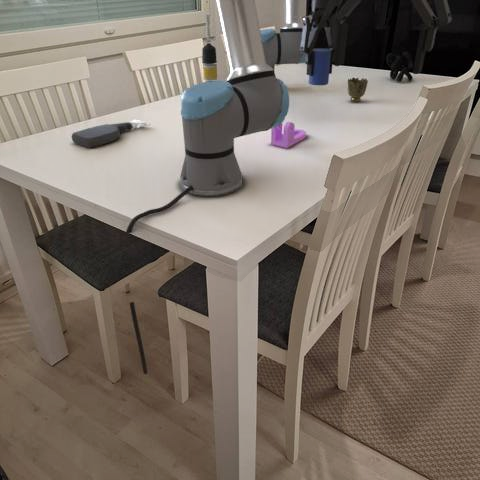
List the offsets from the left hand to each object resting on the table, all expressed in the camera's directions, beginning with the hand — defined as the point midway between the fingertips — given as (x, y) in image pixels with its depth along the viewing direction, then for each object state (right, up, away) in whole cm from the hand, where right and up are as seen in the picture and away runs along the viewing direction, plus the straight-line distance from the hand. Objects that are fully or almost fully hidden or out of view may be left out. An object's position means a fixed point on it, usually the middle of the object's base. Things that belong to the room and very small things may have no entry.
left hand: (376, 68), depth 76 cm
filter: (-35, +27, +103) cm, 112 cm away
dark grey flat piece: (-64, +4, +66) cm, 92 cm away
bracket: (-8, +1, +60) cm, 60 cm away
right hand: (+2, +25, +69) cm, 73 cm away
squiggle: (+49, +43, +124) cm, 140 cm away
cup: (+21, +24, +96) cm, 101 cm away
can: (+2, +22, +70) cm, 74 cm away
